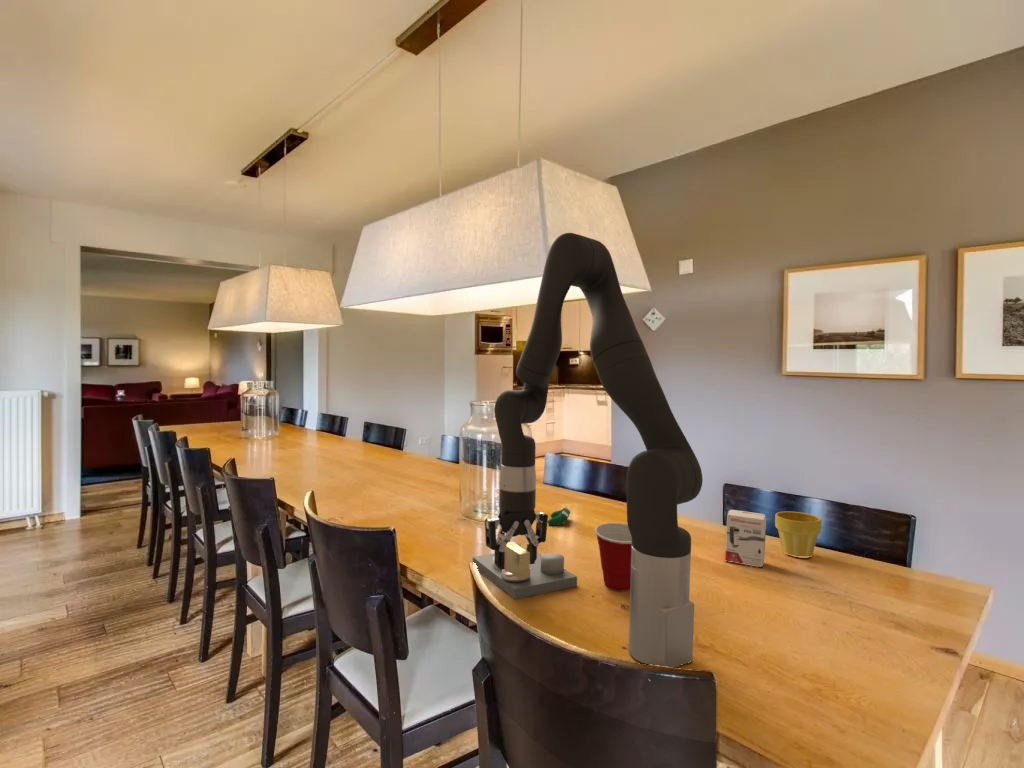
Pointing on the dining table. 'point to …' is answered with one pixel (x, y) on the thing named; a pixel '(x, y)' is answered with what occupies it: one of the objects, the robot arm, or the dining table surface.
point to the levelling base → (543, 575)
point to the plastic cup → (615, 554)
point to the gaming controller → (559, 516)
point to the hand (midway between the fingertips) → (515, 565)
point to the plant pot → (797, 532)
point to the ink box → (745, 537)
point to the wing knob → (516, 564)
